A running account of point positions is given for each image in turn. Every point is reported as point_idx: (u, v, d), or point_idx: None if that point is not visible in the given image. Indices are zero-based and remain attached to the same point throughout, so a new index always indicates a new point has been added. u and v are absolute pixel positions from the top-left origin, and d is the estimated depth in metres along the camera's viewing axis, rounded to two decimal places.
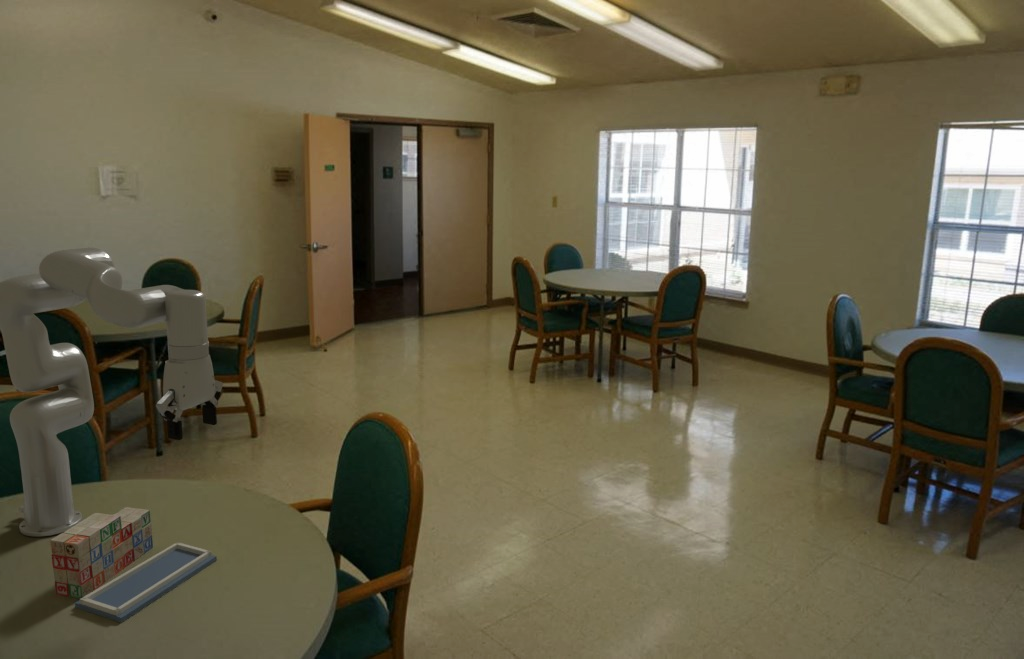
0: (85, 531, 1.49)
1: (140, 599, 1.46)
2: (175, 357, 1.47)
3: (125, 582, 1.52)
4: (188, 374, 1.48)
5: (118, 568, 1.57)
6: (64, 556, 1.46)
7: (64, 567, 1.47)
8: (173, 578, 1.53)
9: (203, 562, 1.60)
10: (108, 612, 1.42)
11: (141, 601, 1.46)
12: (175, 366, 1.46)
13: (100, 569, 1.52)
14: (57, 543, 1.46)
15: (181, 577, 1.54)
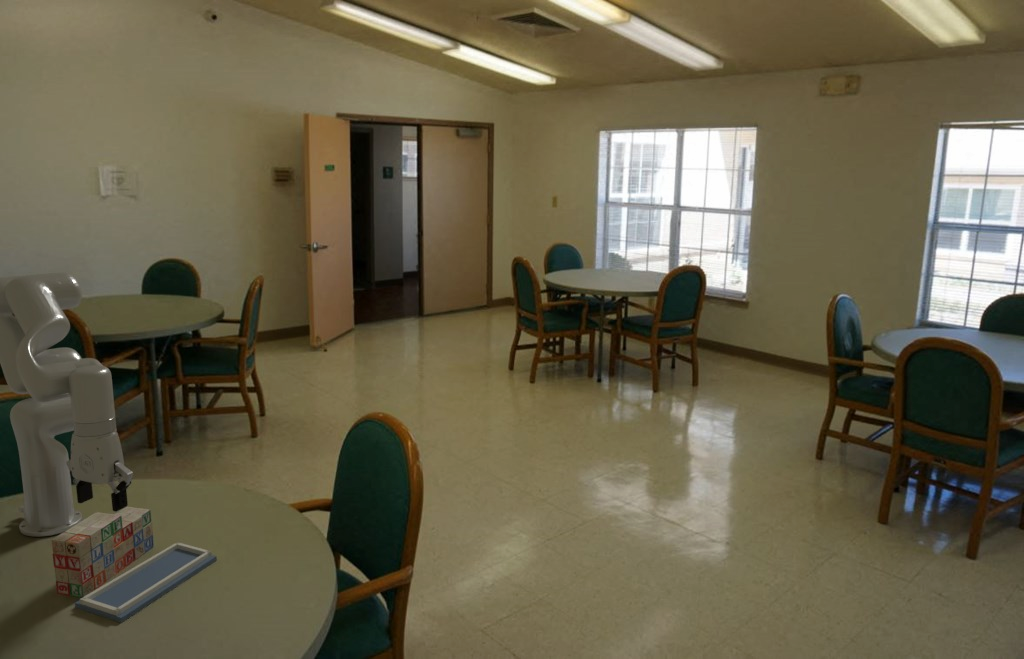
0: (86, 530, 1.50)
1: (140, 599, 1.46)
2: (109, 430, 1.50)
3: (125, 582, 1.52)
4: None
5: (119, 567, 1.57)
6: (65, 555, 1.46)
7: (65, 566, 1.47)
8: (173, 578, 1.53)
9: (203, 562, 1.60)
10: (108, 612, 1.42)
11: (141, 601, 1.46)
12: (115, 437, 1.50)
13: (101, 569, 1.52)
14: (58, 542, 1.46)
15: (181, 577, 1.54)
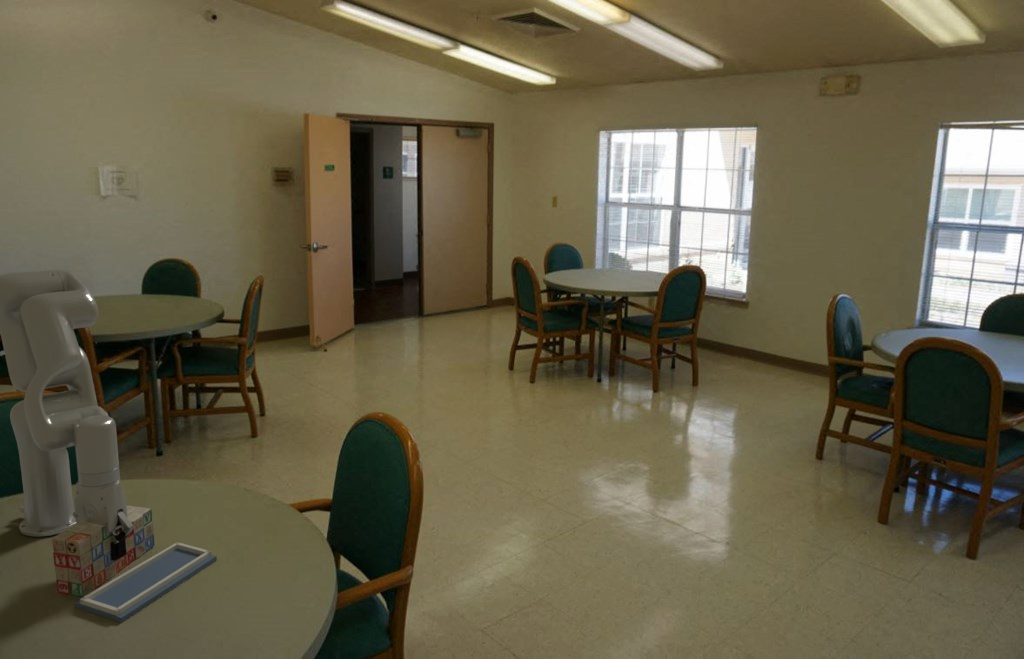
0: (87, 529, 1.50)
1: (140, 599, 1.46)
2: (113, 480, 1.52)
3: (125, 582, 1.52)
4: None
5: (119, 566, 1.58)
6: (65, 554, 1.46)
7: (65, 565, 1.47)
8: (173, 578, 1.53)
9: (203, 562, 1.60)
10: (108, 612, 1.42)
11: (141, 601, 1.46)
12: (118, 487, 1.53)
13: (101, 568, 1.52)
14: (59, 541, 1.46)
15: (181, 577, 1.54)
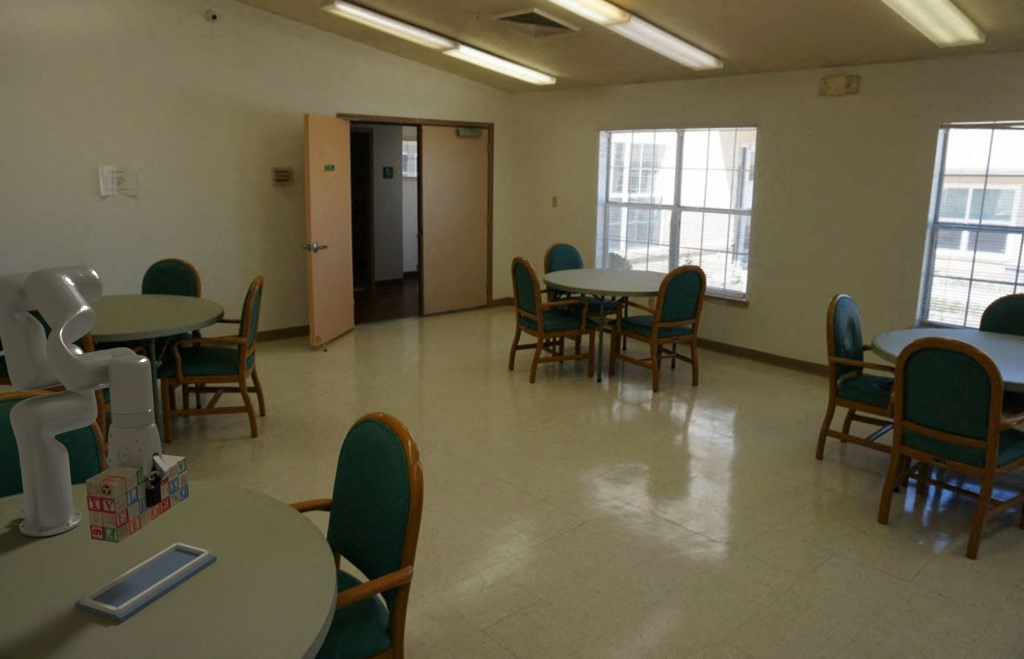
0: (122, 473, 1.43)
1: (140, 599, 1.46)
2: (148, 422, 1.46)
3: (125, 582, 1.52)
4: None
5: (154, 514, 1.51)
6: (100, 497, 1.40)
7: (99, 509, 1.40)
8: (173, 578, 1.53)
9: (203, 562, 1.60)
10: (108, 612, 1.42)
11: (141, 601, 1.46)
12: (153, 429, 1.46)
13: (136, 514, 1.45)
14: (92, 483, 1.39)
15: (181, 577, 1.54)
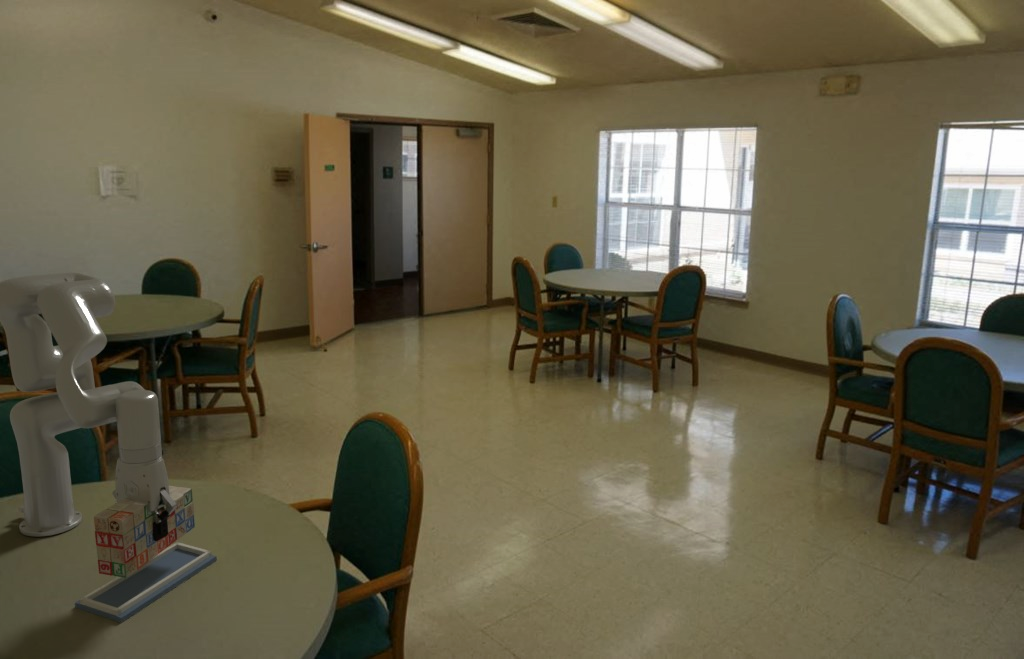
0: (129, 508, 1.44)
1: (140, 599, 1.46)
2: (155, 456, 1.47)
3: (125, 582, 1.52)
4: None
5: (161, 547, 1.52)
6: (108, 533, 1.41)
7: (107, 544, 1.41)
8: (173, 578, 1.53)
9: (203, 562, 1.60)
10: (108, 612, 1.42)
11: (141, 601, 1.46)
12: (161, 464, 1.47)
13: (144, 548, 1.46)
14: (101, 519, 1.40)
15: (181, 577, 1.54)
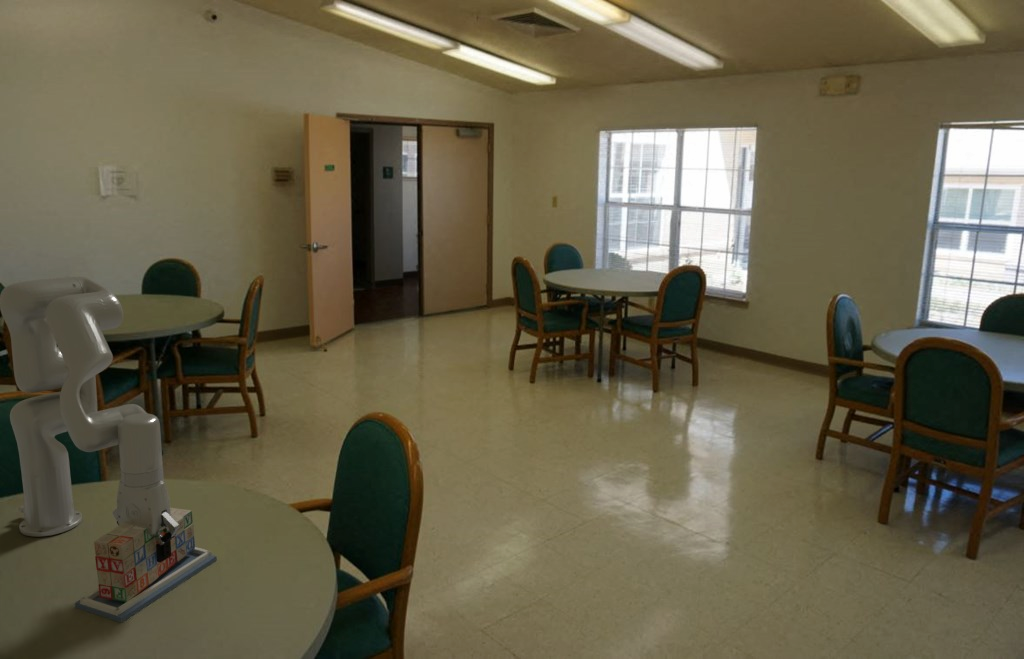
0: (129, 532, 1.45)
1: (140, 599, 1.46)
2: (157, 480, 1.48)
3: None
4: None
5: (161, 570, 1.53)
6: (108, 558, 1.42)
7: (108, 569, 1.43)
8: (173, 578, 1.53)
9: (203, 562, 1.60)
10: (108, 612, 1.42)
11: (141, 601, 1.46)
12: (162, 487, 1.48)
13: (144, 572, 1.48)
14: (101, 544, 1.42)
15: (181, 577, 1.54)
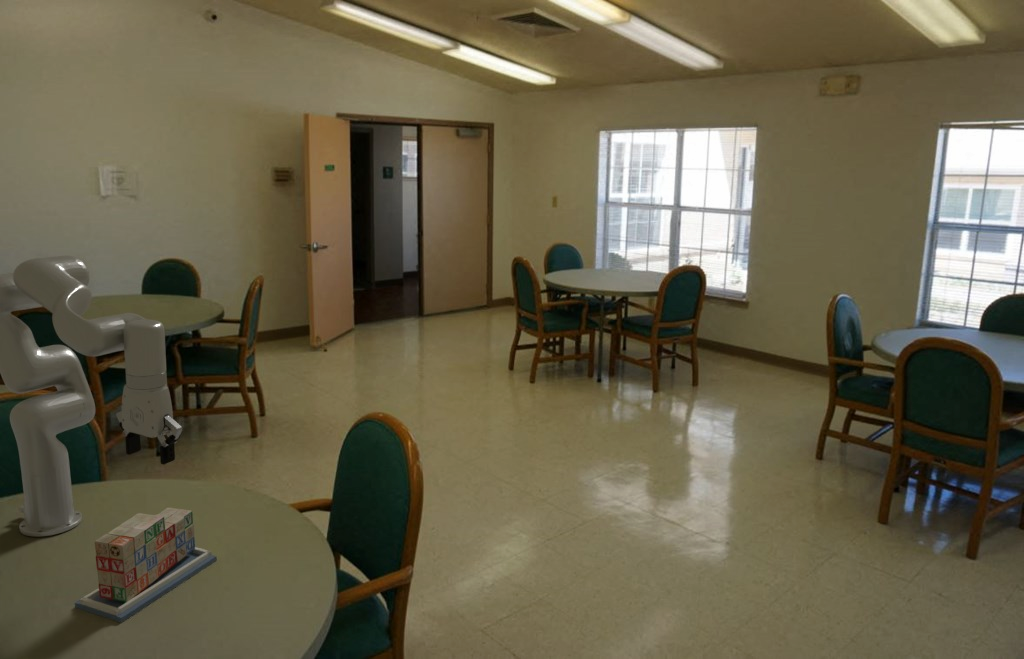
0: (130, 532, 1.45)
1: (140, 599, 1.46)
2: (160, 384, 1.52)
3: None
4: None
5: (161, 570, 1.53)
6: (108, 558, 1.42)
7: (108, 569, 1.43)
8: (173, 578, 1.53)
9: (203, 562, 1.60)
10: (108, 612, 1.42)
11: (141, 601, 1.46)
12: (165, 392, 1.52)
13: (144, 572, 1.48)
14: (101, 544, 1.42)
15: (181, 577, 1.54)
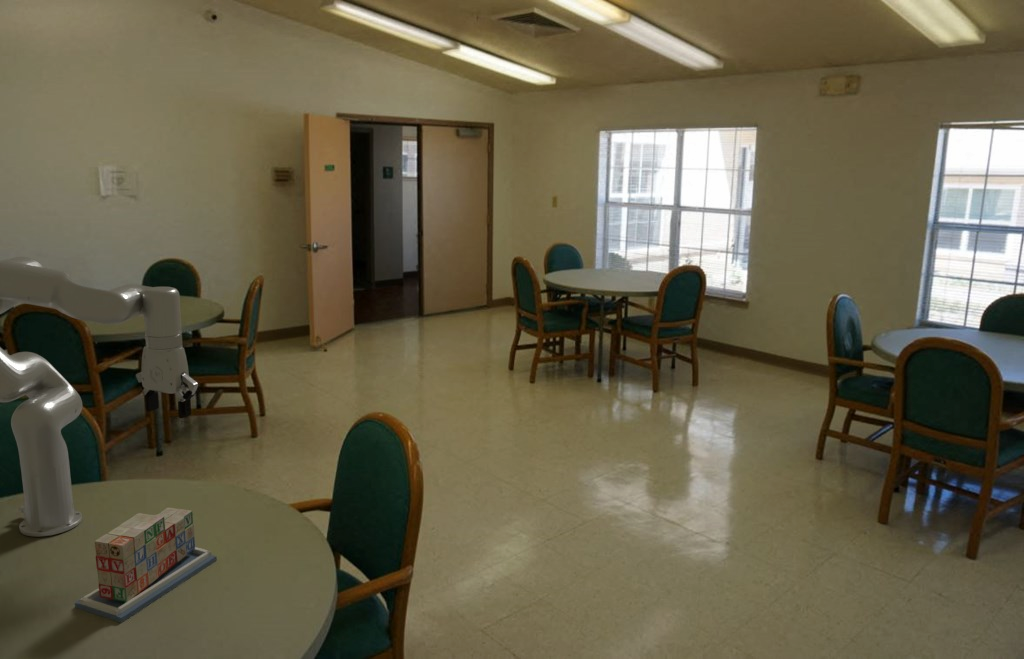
0: (130, 532, 1.45)
1: (140, 599, 1.46)
2: (177, 345, 1.67)
3: None
4: None
5: (161, 570, 1.53)
6: (108, 558, 1.42)
7: (108, 569, 1.43)
8: (173, 578, 1.53)
9: (203, 562, 1.60)
10: (108, 612, 1.42)
11: (141, 601, 1.46)
12: (182, 351, 1.68)
13: (144, 572, 1.48)
14: (101, 544, 1.42)
15: (181, 577, 1.54)
